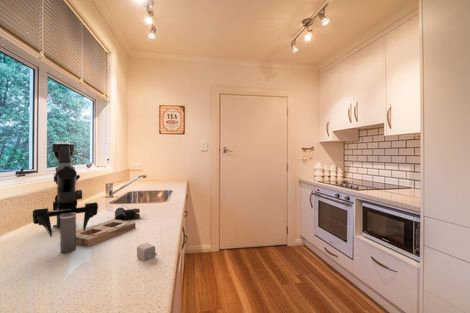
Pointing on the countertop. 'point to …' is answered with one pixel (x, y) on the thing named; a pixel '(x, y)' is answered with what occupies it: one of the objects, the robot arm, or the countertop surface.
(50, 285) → the countertop surface
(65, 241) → the grey cylinder
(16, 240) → the countertop surface
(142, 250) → the usb wall charger
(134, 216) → the pipe connector
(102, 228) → the socket plate
